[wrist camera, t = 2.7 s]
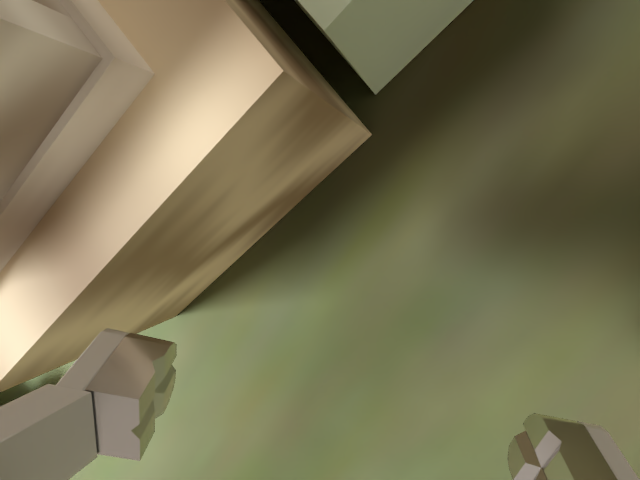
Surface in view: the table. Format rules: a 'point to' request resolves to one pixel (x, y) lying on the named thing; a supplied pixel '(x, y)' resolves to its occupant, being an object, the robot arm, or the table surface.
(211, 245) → the tan stepped block
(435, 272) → the table surface
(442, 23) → the block
